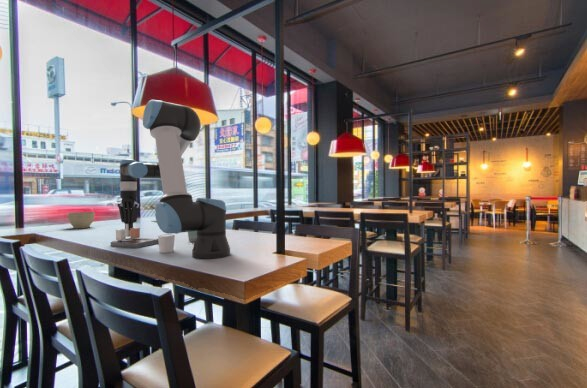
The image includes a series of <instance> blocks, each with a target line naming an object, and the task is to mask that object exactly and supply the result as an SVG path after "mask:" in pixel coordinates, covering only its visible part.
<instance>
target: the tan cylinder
mask: <svg viewBox="0 0 587 388" xmlns="http://www.w3.org/2000/svg"><path fill="white" fill-rule="evenodd" d="M130 229H131V236H130V238H141V235H140V234H141V233H140V232H141V230H140V229H141V228H140V227H133V228H130Z"/></svg>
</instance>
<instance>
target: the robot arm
mask: <svg viewBox="0 0 587 388" xmlns="http://www.w3.org/2000/svg"><path fill="white" fill-rule="evenodd" d="M142 126H143V127H144V128H145V129H147V130H149V132H150V133H149V134H150V137H152V138H154V140H155V145H156V152H157V153H156V154H157V159H158V162H157V163H151V162H150V163H148V162H141V161H136V160H135V159H127V158H126V159H121V160H120V162H119V179H120V180H119V183H120V184H119V189H120V192H119V197H120V198H121V199H120V200H121V201H120V202H119V203H117V208H118V211H119V216H120V221H121V223H124V229H126V238H127V237H128V238H131V229H130V228H134V224H135V223H137V221H138V215H139V210H140V208H141V204H140V203H138V202H137V198H138V179H158V180H160V182H161V187H162V196H161V198H159V203H157V205H156V206H155V213H154V216H155V221H156V224H157V226H158V228H159V229H160V230H161V231H162V232H163V233H165V234H171V235H172V234H174V235H175V234H176V235H177V234H180V233H181V234H182V233H188V232H191V231H197V237H196V240H195V242H194V244H193V248H192V252H191V253H192V254H191V255H192V257H193V258H195V259H206V260H207V259H221V258H224V257H228V256H230V255H231V247H230V244H229V241H228V238H227V234H226V233H227V231H226V230H227V223H226V222H227V220H226V218H227V216H226V215H227V214H226V213H227V207H226V202H225V201H224V200H222V199H214V198H208V197H207V198H206V197H205V198H204V197H197V198H195V199H196V200H195V201H193V195H191V194H190V193H189V192H188V189H187V185H186V184H187V183H186V178H185V172H184V171H185V170H184V165H183V159H182V156H183V154H185V152H186V150H187V148H189V145H190V144H191V142H194V141H196V139H197V138H198V136H199V135H200V132H201V127H202V125H201V119H200V117H199V115H198V113H197V112H196V111H195V110H194V109H193V108H191V107H189V106H187V105H182V104H179V103H178V104H177V103H173V102H166V101H163V100H157V99H150V100H149V101H148V102H147V103H146V105H145V107H144V110H143V115H142Z"/></svg>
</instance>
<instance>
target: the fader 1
mask: <svg viewBox="0 0 587 388" xmlns="http://www.w3.org/2000/svg"><path fill="white" fill-rule="evenodd" d="M126 239H127V237H126V229H125V228H122V229H121V228H120V229H119V228H118V229H115V241H116V240H126Z"/></svg>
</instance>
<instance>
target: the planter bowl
mask: <svg viewBox="0 0 587 388" xmlns="http://www.w3.org/2000/svg"><path fill="white" fill-rule="evenodd" d="M95 214H96V212H95V211H78V212H67V213H66V216H67V220H68V222H69V224H70V226H72V227H73V229H85V228H86V229H88V228H90V227H91V225H92V223H93V222H94V220H95Z"/></svg>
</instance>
